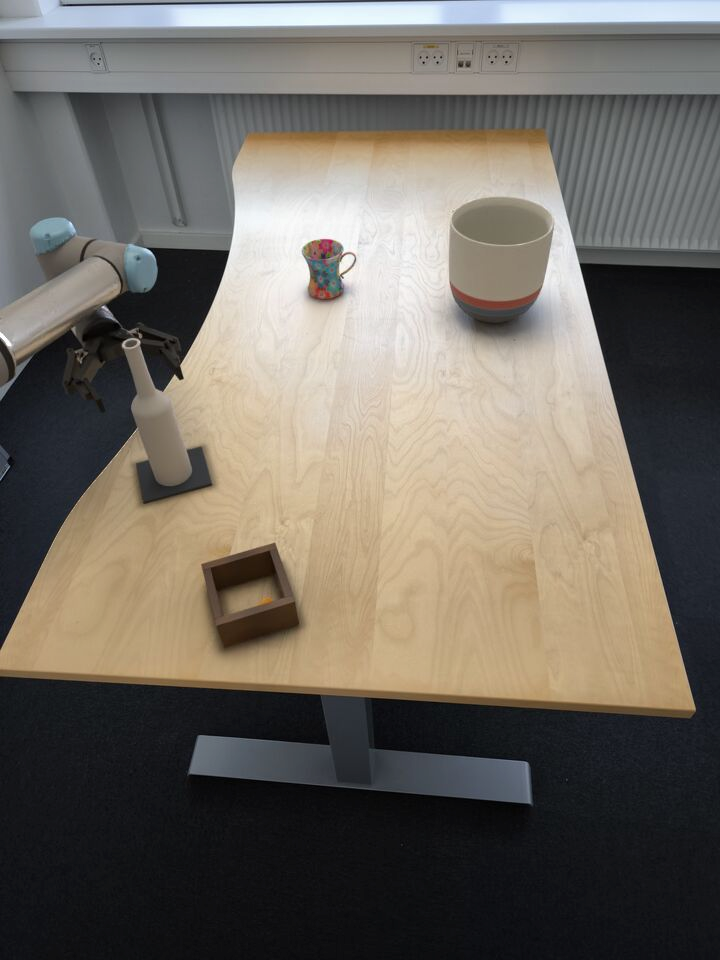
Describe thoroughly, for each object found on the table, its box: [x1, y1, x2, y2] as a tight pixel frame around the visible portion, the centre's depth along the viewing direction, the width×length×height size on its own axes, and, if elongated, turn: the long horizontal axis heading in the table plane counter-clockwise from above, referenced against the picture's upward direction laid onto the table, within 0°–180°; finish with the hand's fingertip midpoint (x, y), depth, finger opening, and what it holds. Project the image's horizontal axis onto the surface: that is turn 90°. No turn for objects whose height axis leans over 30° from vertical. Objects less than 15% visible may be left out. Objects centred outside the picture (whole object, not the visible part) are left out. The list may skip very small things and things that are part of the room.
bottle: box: [122, 337, 192, 486], centre depth 120 cm, size 7×7×28 cm
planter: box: [448, 195, 555, 324], centre depth 152 cm, size 20×20×21 cm
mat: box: [135, 446, 213, 504], centre depth 130 cm, size 12×10×1 cm
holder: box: [200, 542, 300, 649], centre depth 108 cm, size 11×11×6 cm
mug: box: [301, 238, 357, 300], centre depth 165 cm, size 12×9×11 cm
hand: (141, 389), depth 118 cm, fingers open, 13 cm apart
